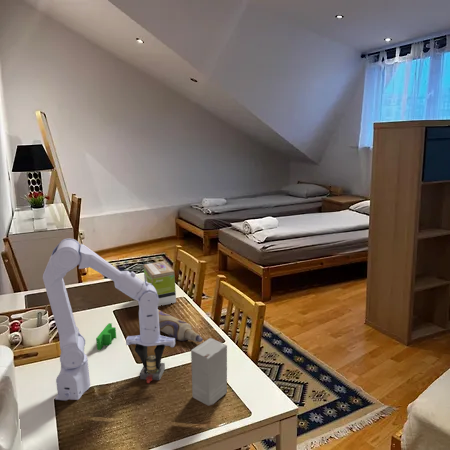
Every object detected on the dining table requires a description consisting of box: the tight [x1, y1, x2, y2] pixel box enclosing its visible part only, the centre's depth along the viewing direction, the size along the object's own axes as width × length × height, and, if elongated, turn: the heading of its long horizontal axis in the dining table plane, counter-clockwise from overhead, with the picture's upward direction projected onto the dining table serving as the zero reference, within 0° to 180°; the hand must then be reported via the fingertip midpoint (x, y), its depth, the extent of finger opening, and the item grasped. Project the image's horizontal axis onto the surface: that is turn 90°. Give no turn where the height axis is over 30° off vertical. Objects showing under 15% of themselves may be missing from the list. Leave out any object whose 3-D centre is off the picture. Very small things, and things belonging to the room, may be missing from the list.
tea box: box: [143, 260, 177, 307], centre depth 182 cm, size 15×10×15 cm
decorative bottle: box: [158, 309, 204, 343], centre depth 151 cm, size 26×8×7 cm, turn 47°
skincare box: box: [190, 337, 228, 407], centre depth 115 cm, size 8×7×16 cm
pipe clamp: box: [95, 323, 117, 351], centre depth 148 cm, size 11×4×5 cm, turn 173°
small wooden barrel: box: [146, 354, 158, 373], centre depth 127 cm, size 3×3×5 cm
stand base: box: [139, 362, 166, 384], centre depth 127 cm, size 10×10×3 cm
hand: (152, 366), depth 127 cm, fingers closed on small wooden barrel, 3 cm apart
